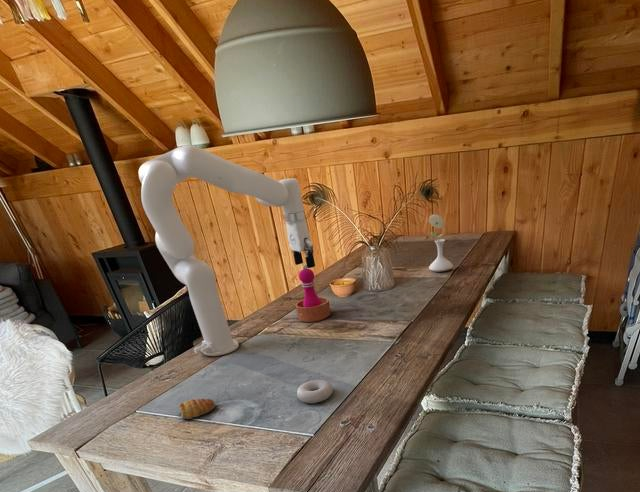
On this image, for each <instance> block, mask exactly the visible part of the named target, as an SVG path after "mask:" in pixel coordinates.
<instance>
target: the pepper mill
mask: <svg viewBox="0 0 640 492" xmlns="http://www.w3.org/2000/svg"><path fill="white" fill-rule="evenodd" d="M314 279H315V272H314V271H313V270H312V269H311V268H307V264H302V269H301V270H300V271H299V272H298V280H299V281H300V282H301V287H302V288H303V291H304V296H303V300H304V301H303V306H304V307H306V308H307V307H314V306H318V305H321V301H320V299H319V297H320V296H318V294H317V292H316V290H315V285H316V284H315V280H314Z"/></svg>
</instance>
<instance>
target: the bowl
mask: <svg viewBox="0 0 640 492" xmlns="http://www.w3.org/2000/svg"><path fill="white" fill-rule="evenodd" d="M318 297H319V299H320V301H321V305H318V306H314V307H307V308H306V307H304V306H303V301H304V299H301V300H298V301H297V302H296V303H295V304H294V306H295V311H296V314H297V318H298V320H299V321H301V322H305V323H314V322H319V321H322V320H324V319H326V318H328V317H329V316H330V315H331V314H332V312H331V305H330V301H329V298H327V297H326V296H325V297H324V296H318Z"/></svg>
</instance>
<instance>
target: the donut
mask: <svg viewBox="0 0 640 492" xmlns="http://www.w3.org/2000/svg"><path fill="white" fill-rule="evenodd" d="M332 394H333V385H332V384H331V383H330V382H329V381H327V380H324V379H313V380H308V381H306V382H303V383H302V384H301V385H299V387H298V388H297V391H296V396H297V398H298V400H300V401H301V402H302V403H306V404H317V403H321V402H324V401H326V400H327V399H329V398H330V397H331V396H332Z"/></svg>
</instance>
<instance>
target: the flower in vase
mask: <svg viewBox="0 0 640 492" xmlns="http://www.w3.org/2000/svg"><path fill="white" fill-rule="evenodd" d="M428 223H429V224H430V225H431V226H432V227H434V229H433V230H434V231H430V233H429V235H428V236H430V237H432V238H435V237H436V239H435V240H434V243H435V244H436V248H437V257H436V258H435V260H433V262H431V263H430V265H429V266H428V269H429V270H430V271H431V272H437V273H439V272H446V271H449V270H451V269H452V268H453V265H454V264H453V263H452V262H451V261H450V260H448V259H447V258H446V257H445V256H444V253H443V251H444V250H443V248H444V243H445V241H446V239H443V238H441V239H440V237H442V236H443V235H444V233H441V234H439V235H438V236H437V233H436V229H439V230H441V229H443V228H445V220H444V217H442V216H441V215H439V214H431V215H430V216H429V217H428Z"/></svg>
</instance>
